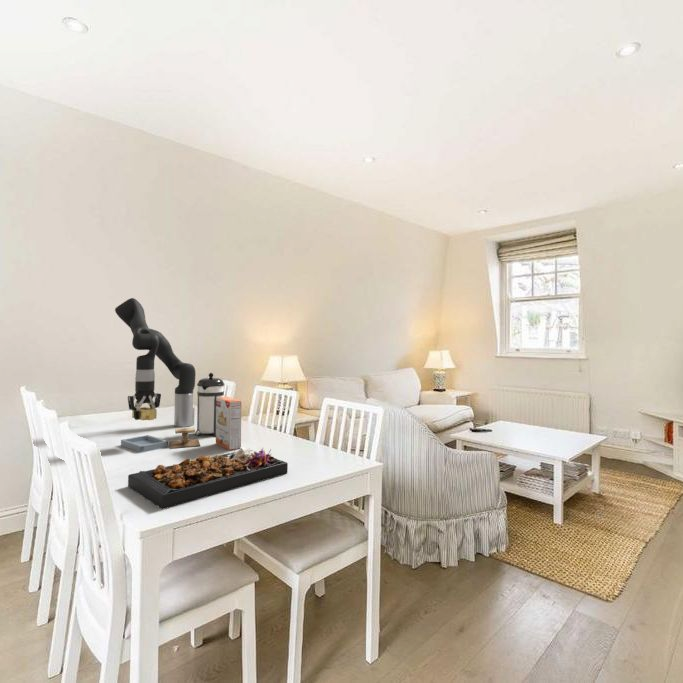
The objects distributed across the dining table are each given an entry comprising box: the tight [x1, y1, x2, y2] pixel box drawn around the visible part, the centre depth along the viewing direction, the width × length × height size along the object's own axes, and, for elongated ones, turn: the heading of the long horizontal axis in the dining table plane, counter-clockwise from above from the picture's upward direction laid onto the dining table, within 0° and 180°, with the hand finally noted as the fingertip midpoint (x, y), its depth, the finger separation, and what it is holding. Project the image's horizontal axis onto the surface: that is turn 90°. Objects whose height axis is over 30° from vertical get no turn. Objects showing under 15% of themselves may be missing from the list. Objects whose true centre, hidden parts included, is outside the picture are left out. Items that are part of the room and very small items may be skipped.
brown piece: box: [169, 427, 201, 450], centre depth 188 cm, size 12×12×6 cm
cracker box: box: [215, 396, 242, 451], centre depth 186 cm, size 14×6×21 cm, turn 39°
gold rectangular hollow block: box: [131, 406, 158, 421], centre depth 183 cm, size 10×6×4 cm, turn 53°
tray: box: [120, 434, 169, 453], centre depth 184 cm, size 17×12×2 cm
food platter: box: [127, 446, 288, 510], centre depth 143 cm, size 45×25×10 cm, turn 137°
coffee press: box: [194, 372, 225, 438], centre depth 210 cm, size 17×16×30 cm
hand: (144, 418), depth 184 cm, fingers closed on gold rectangular hollow block, 6 cm apart
